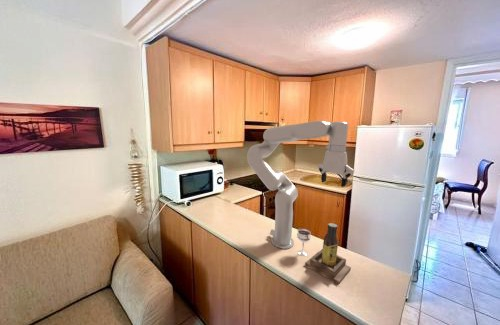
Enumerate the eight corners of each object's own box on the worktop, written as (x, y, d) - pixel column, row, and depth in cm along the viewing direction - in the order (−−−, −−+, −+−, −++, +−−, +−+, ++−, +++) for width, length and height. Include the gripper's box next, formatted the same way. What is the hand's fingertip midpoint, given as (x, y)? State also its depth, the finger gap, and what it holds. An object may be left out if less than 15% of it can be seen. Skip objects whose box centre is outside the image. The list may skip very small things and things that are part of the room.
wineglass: (296, 248, 110) (298, 227, 108) (309, 251, 107) (311, 230, 105) (294, 255, 103) (296, 233, 101) (308, 258, 101) (310, 236, 99)
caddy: (304, 265, 96) (305, 256, 95) (318, 254, 105) (319, 246, 104) (338, 284, 85) (339, 275, 84) (350, 270, 93) (351, 261, 93)
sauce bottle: (330, 271, 90) (334, 230, 87) (318, 263, 95) (321, 224, 92) (338, 265, 94) (342, 226, 91) (326, 258, 99) (330, 220, 96)
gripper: (315, 147, 98) (312, 181, 101) (352, 151, 86) (348, 189, 89) (323, 146, 103) (320, 179, 106) (359, 150, 91) (354, 186, 94)
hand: (333, 183), depth 97 cm, fingers open, 9 cm apart
